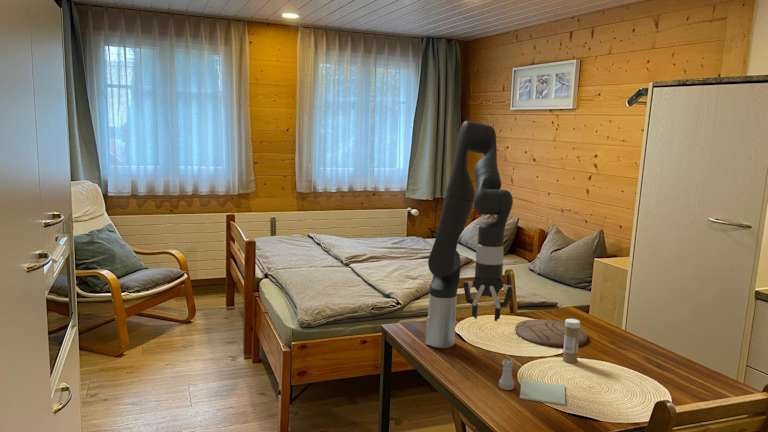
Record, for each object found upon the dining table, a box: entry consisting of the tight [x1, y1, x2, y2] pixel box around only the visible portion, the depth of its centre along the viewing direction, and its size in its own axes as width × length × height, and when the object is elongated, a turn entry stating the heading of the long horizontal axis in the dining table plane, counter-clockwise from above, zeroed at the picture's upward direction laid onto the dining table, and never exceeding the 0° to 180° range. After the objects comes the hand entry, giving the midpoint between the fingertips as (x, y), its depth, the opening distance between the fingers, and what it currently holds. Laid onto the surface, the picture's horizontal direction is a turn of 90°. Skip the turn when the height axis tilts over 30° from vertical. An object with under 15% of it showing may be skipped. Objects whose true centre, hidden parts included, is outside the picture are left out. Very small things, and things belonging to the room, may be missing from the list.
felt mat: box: [519, 378, 566, 406], centre depth 164 cm, size 12×12×1 cm
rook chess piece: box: [498, 358, 515, 391], centre depth 166 cm, size 4×4×8 cm
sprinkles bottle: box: [562, 318, 581, 364], centre depth 187 cm, size 5×5×14 cm
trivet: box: [514, 318, 588, 349], centre depth 211 cm, size 25×25×2 cm
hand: (485, 318), depth 166 cm, fingers open, 5 cm apart
